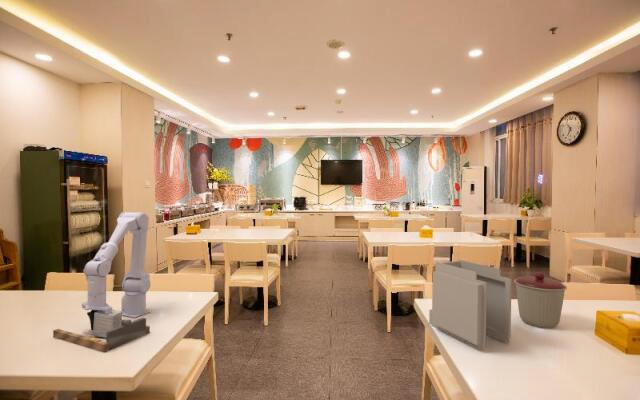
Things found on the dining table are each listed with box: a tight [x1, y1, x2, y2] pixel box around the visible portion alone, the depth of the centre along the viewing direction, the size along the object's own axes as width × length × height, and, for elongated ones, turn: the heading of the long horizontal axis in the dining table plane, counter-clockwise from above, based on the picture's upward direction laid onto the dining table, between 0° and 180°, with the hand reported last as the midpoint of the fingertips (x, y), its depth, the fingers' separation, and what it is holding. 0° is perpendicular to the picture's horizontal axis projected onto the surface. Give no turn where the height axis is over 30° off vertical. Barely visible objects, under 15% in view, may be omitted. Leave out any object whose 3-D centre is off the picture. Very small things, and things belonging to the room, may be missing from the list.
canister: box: [513, 271, 568, 329], centre depth 136 cm, size 18×18×21 cm
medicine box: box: [92, 309, 123, 338], centre depth 121 cm, size 8×4×9 cm, turn 81°
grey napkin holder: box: [428, 259, 513, 350], centre depth 125 cm, size 17×27×26 cm, turn 25°
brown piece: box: [52, 317, 151, 353], centre depth 122 cm, size 28×17×7 cm, turn 67°
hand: (96, 329), depth 122 cm, fingers closed, pressing on medicine box
